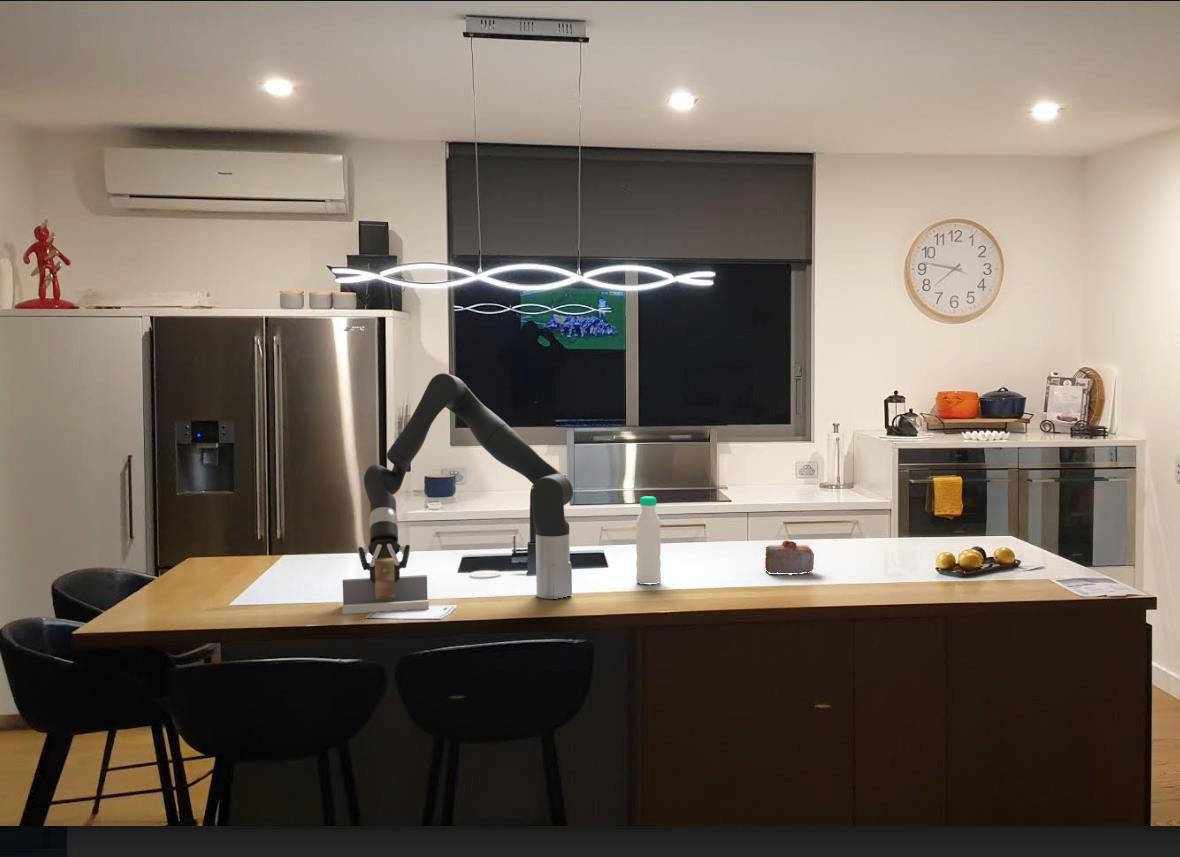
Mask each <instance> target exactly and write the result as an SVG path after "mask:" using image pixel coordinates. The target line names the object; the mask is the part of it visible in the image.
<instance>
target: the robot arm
mask: <svg viewBox="0 0 1180 857" xmlns="http://www.w3.org/2000/svg"><path fill="white" fill-rule="evenodd" d="M444 408H446V409H447V410H450V411H451V412H452V413H453V414H454V415H456V416H457V417H458V418H459V419H461V420H462V421H463V422H464V423H465V425H466V426H467V427H468V428H469V430H470V431H471V433H472V435H473V436H474V437H475V439H476V441H477V442H478V443H479V445H480V446H481V447H482V448H484V450H485V451H487V452H488V454H489V455H491V456H492V457H493V458H494V459H495V460H497V461H498V462H499V463H501V464H503V465H504V466H506V467H507V468H509V469H511V470H514V471H515V472H517V473H518V474H520V475H522V476H523V477H525V478H526V479H527V480H528V481H529V482H530V483H531V484H532V485H533V486H532V491H531V508H532V509H531V510H532V511H531V512H532V522H533V525H534V527H535V569H536V570H535V572H536V573H535V574H536V577H535V579H536V596H537V598H540V599H545V600H546V599H547V600H553V599H556V600H559V599H558V598H561V599H564V598H563V597H566V598H568V597H567V596H571V595H572V596H573V590H572V589H573V581H572V580H573V578H572V576H573V574H572V569H573V568H572V565H573V564H572V562H571V558H570V553H571V550H570V547H571V546H570V523H569V522H568V521H567V520H566V518H565V517H566V516H565V506H566V505H567V504H569V503H570V502H571V500H572V499H573V496H574V488H573V485H572V483H571V481H570V479H569V478H568V477H567V476H566V475H564V474H563V473H561V472H560V471H559V470H558V469H557V468H555V467H554V466H552V465H551V464H549V463H548V462H547V461H546V460H544V459H543V458H542V457H541V456H540V455H539V454H538V453H537V452H536V451H535V450H534V449H533V448H532V447H531V446H530V445H529V444H528V443H527V442H526V441H525V440H524V439H522V437H520V435H519V434H518V433H517V432H516V431H515V430H514V429H513V428H512V427H510V425H509V424H507V422H505V421H504V420H503V419H502V418H500V417H499V416H498V415H497V414H495V413H494V411H492V410H491V409H489V408H488V407H487V406H485V405H484V404H483V403H482V402H481V401H480V400H479V399H478V398H477V397H476V395H475V394H474V393H473V392H472V391H471V389H470V388H469V387H468V386H467V384H466V383H464V381H463V380H462V379H461V378H459V377H458V376H455V375H452V374H450V373H445V372H444V373H443V372H441V373H438V374H435V375H434V376H433V377H431V379H430V381H429V383H428V384H427V386H426V388H425V390H424V393H423V394H422V396H421V398H420V400H419V402H418V404H417V405H416V408H415V410H414V412H413V414H412V415H411V417H410V418H409V420H408V422H407V424H406V425H405V427H404V428H403V429H402V431H401V432H400V434H399V435H398V437H397V438H396V439H395V441H394V442H393V444H392V445H391V446H390V448H389V449H388V450H387V452H386V458H387V460H388V461H389V462H391V463H392V465H393V466H392V470H390V469H389V468H386V467H384V466H383V465H382V464H381V465H380V464H375V463H374V464H371V465H370V466H369V467H368V468H367V469H366V470H365V473H364V475H363V485H364V489H365V492H366V496H367V499H368V502H369V505H370V506H369V507H370V510H369V511H370V515H369V516H370V517H369V527H368V528H369V545H368V546H366V547H362V546H359V547H358V557H359V560H360V562H361V567H362V569H363V570H364V571H369V578H370V581H373V583H375V559H377V558H394V574H395V575H394V580H395V582H397V580H399V579H400V576H401V574H400V570H401V569H406V568H407V565H408V562H409V561H408V560H409V557H410V553H411V546H410V544H406V545H401V544H400V543H399V525H398V523H399V522H398V516H397V501H396V497H395V496H394V495H395V494H397V493H398V492H399V490H400V489H401V487H402V485H403V482H404V478H405V476H406V473H407V471H408V470H409V469H408V468H409V467H410V464H411V463H412V461H413V460H414V458H415V457H416V456H417V454H418V452H420V451H421V448H422V447H423V444H424V443H425V440H426V438H427V436H428V432H429V431H430V429H431V426H432V424H433V423H434V421H435V419H436V418H437V417H438V415H440V413H441V412H442V411H443V410H444ZM399 552H401V554H402V559H401V561H399V560H398V557H397V554H398V553H399ZM368 553H369V554H370V555H371V556H372V557H371V561H370V562H368V560H367V555H368ZM572 596H571V597H572Z"/></svg>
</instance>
